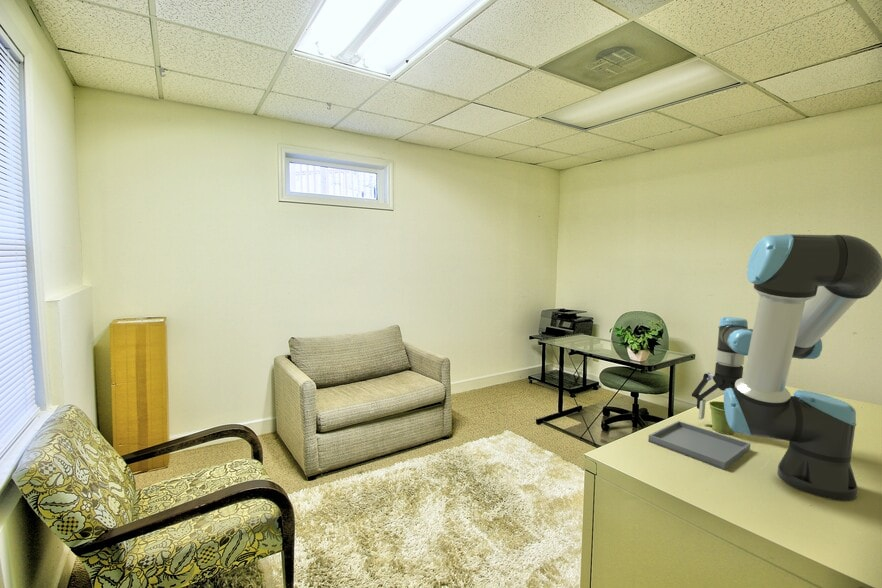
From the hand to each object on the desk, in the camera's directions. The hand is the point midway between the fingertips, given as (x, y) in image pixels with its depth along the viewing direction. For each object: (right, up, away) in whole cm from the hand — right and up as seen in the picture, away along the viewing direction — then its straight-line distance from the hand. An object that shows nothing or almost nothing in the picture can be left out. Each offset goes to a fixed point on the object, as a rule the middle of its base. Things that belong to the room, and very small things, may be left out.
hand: (723, 425), depth 137 cm
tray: (-16, -2, -12) cm, 20 cm away
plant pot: (0, -2, 0) cm, 2 cm away
